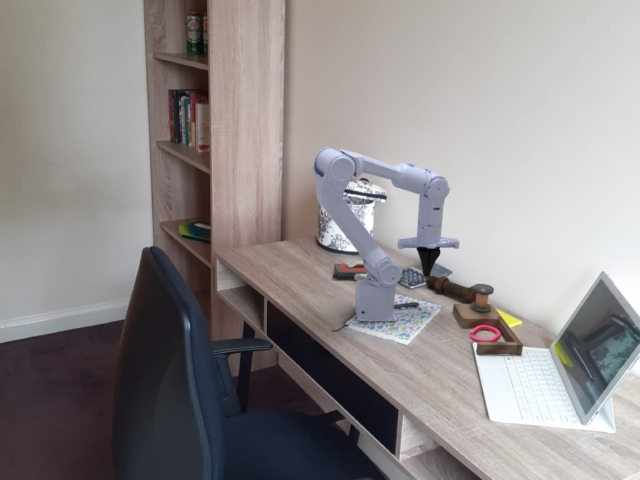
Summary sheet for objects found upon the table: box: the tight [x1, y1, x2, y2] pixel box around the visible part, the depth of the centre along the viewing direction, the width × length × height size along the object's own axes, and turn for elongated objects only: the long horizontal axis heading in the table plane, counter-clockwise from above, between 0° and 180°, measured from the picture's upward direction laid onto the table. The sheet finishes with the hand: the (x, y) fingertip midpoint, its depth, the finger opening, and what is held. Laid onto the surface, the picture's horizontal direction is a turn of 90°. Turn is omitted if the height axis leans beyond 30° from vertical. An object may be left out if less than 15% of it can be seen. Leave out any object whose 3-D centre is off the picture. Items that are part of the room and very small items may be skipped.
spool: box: [471, 283, 495, 313], centre depth 145 cm, size 5×5×6 cm
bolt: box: [425, 275, 477, 304], centre depth 158 cm, size 6×5×15 cm
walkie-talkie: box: [332, 260, 405, 282], centre depth 167 cm, size 9×4×20 cm
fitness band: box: [469, 325, 501, 343], centre depth 137 cm, size 8×6×2 cm
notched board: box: [452, 303, 524, 356], centre depth 139 cm, size 10×20×2 cm, turn 4°
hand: (426, 275), depth 146 cm, fingers closed
